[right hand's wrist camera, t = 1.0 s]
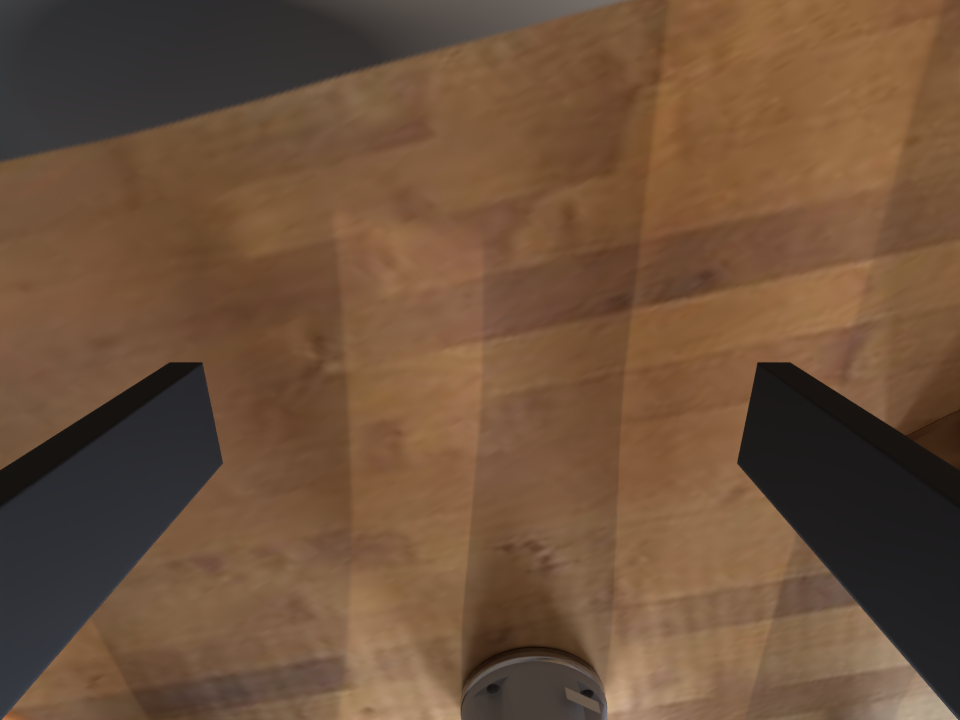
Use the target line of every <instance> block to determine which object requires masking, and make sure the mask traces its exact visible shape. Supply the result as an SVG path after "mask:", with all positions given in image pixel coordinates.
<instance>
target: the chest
mask: <svg viewBox="0 0 960 720" xmlns="http://www.w3.org/2000/svg"><path fill="white" fill-rule="evenodd" d="M907 437H908V438H910V439H911V440H913V441H914V442H916V443H918V444H919V445H921V446H922V447H924V448H925V449H927V450H929V451H930V452H932V453H933V454H935V455H936V456H938V457H940V458H941V459H943V460H944V461H946V462H947V463H949V464H951V465H952V466H954V467H955V468H957V469H958V470H960V410H958V411H956V412H954V413H952V414H950V415H948V416H946V417H944V418H942V419H940V420H938V421H936V422H934V423H932V424H930V425H928V426H926V427H924V428H922V429H920V430H918V431H916V432H914V433H912V434H910V435H908V436H907Z"/></svg>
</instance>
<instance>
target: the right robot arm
mask: <svg viewBox="0 0 960 720" xmlns="http://www.w3.org/2000/svg"><path fill="white" fill-rule="evenodd" d="M222 464H223V462H222V457H221V452H220V447H219V442H218V437H217V432H216V427H215V422H214V417H213V412H212V408H211V403H210V398H209V393H208V388H207V383H206V378H205V373H204V368H203V363H202V362H170V363H168V364H167V365H165V366H164V367H162V368H160V369H159V370H157V371H156V372H154V373H153V374H151V375H149V376H148V377H146V378H145V379H143V380H142V381H140V382H138V383H137V384H135V385H134V386H132V387H131V388H129V389H127V390H126V391H124V392H123V393H121V394H120V395H118V396H116V397H115V398H113V399H112V400H110V401H109V402H107V403H105V404H104V405H102V406H101V407H99V408H98V409H96V410H94V411H93V412H91V413H90V414H88V415H87V416H85V417H83V418H82V419H80V420H79V421H77V422H76V423H74V424H72V425H71V426H69V427H68V428H66V429H65V430H63V431H61V432H60V433H58V434H57V435H55V436H53V437H52V438H50V439H49V440H47V441H46V442H44V443H42V444H41V445H39V446H38V447H36V448H35V449H33V450H31V451H30V452H28V453H27V454H25V455H24V456H22V457H20V458H19V459H17V460H16V461H14V462H13V463H11V464H9V465H8V466H6V467H5V468H3V469H2V470H0V720H2V719H3V718H4V717H5V715H6V714H7V713H8V712H9V711H10V710H11V708H12V707H13V706H14V705H15V704H16V703H17V701H18V700H19V699H20V698H21V697H22V696H23V694H24V693H25V692H26V691H27V690H28V689H29V688H30V686H31V685H32V684H33V683H34V682H35V681H36V679H37V678H38V677H39V676H40V675H41V674H42V672H43V671H44V670H45V669H46V668H47V667H48V666H49V664H50V663H51V662H52V661H53V660H54V659H55V657H56V656H57V655H58V654H59V653H60V652H61V650H62V649H63V648H64V647H65V646H66V645H67V643H68V642H69V641H70V640H71V639H72V638H73V637H74V635H75V634H76V633H77V632H78V631H79V630H80V628H81V627H82V626H83V625H84V624H85V623H86V621H87V620H88V619H89V618H90V617H91V616H92V614H93V613H94V612H95V611H96V610H97V609H98V608H99V606H100V605H101V604H102V603H103V602H104V601H105V599H106V598H107V597H108V596H109V595H110V594H111V592H112V591H113V590H114V589H115V588H116V587H117V586H118V584H119V583H120V582H121V581H122V580H123V579H124V577H125V576H126V575H127V574H128V573H129V572H130V570H131V569H132V568H133V567H134V566H135V565H136V563H137V562H138V561H139V560H140V559H141V558H142V557H143V555H144V554H145V553H146V552H147V551H148V550H149V548H150V547H151V546H152V545H153V544H154V543H155V541H156V540H157V539H158V538H159V537H160V536H161V534H162V533H163V532H164V531H165V530H166V529H167V528H168V526H169V525H170V524H171V523H172V522H173V521H174V519H175V518H176V517H177V516H178V515H179V514H180V512H181V511H182V510H183V509H184V508H185V507H186V506H187V504H188V503H189V502H190V501H191V500H192V499H193V497H194V496H195V495H196V494H197V493H198V492H199V490H200V489H201V488H202V487H203V486H204V485H205V483H206V482H207V481H208V480H209V479H210V478H211V477H212V475H213V474H214V473H215V472H216V471H217V470H218V468H219V467H220V466H221V465H222ZM737 464H738V465H739V466H740V467H741V468H742V470H743V471H744V472H745V473H746V474H747V475H748V477H749V478H750V479H751V480H752V481H753V482H754V483H755V485H756V486H757V487H758V488H759V489H760V490H761V492H762V493H763V494H764V495H765V496H766V497H767V499H768V500H769V501H770V502H771V503H772V504H773V506H774V507H775V508H776V509H777V510H778V511H779V512H780V514H781V515H782V516H783V517H784V518H785V519H786V521H787V522H788V523H789V524H790V525H791V526H792V528H793V529H794V530H795V531H796V532H797V533H798V534H799V536H800V537H801V538H802V539H803V540H804V541H805V543H806V544H807V545H808V546H809V547H810V548H811V550H812V551H813V552H814V553H815V554H816V555H817V557H818V558H819V559H820V560H821V561H822V562H823V563H824V565H825V566H826V567H827V568H828V569H829V570H830V572H831V573H832V574H833V575H834V576H835V577H836V579H837V580H838V581H839V582H840V583H841V584H842V586H843V587H844V588H845V589H846V590H847V591H848V592H849V594H850V595H851V596H852V597H853V598H854V599H855V601H856V602H857V603H858V604H859V605H860V606H861V608H862V609H863V610H864V611H865V612H866V613H867V614H868V616H869V617H870V618H871V619H872V620H873V621H874V623H875V624H876V625H877V626H878V627H879V628H880V630H881V631H882V632H883V633H884V634H885V635H886V637H887V638H888V639H889V640H890V641H891V642H892V643H893V645H894V646H895V647H896V648H897V649H898V650H899V652H900V653H901V654H902V655H903V656H904V657H905V659H906V660H907V661H908V662H909V663H910V664H911V666H912V667H913V668H914V669H915V670H916V671H917V672H918V674H919V675H920V676H921V677H922V678H923V679H924V681H925V682H926V683H927V684H928V685H929V686H930V688H931V689H932V690H933V691H934V692H935V693H936V694H937V696H938V697H939V698H940V699H941V700H942V701H943V703H944V704H945V705H946V706H947V707H948V708H949V710H950V711H951V712H952V713H953V714H954V715H955V717H956V718H957V719H958V720H960V470H958V469H957V468H955V467H954V466H952V465H951V464H949V463H947V462H946V461H944V460H943V459H941V458H940V457H938V456H936V455H935V454H933V453H932V452H930V451H929V450H927V449H925V448H924V447H922V446H921V445H919V444H918V443H916V442H914V441H913V440H911V439H910V438H908V437H907V436H905V435H903V434H902V433H900V432H899V431H897V430H895V429H894V428H892V427H891V426H889V425H888V424H886V423H884V422H883V421H881V420H880V419H878V418H877V417H875V416H873V415H872V414H870V413H869V412H867V411H866V410H864V409H862V408H861V407H859V406H858V405H856V404H855V403H853V402H851V401H850V400H848V399H847V398H845V397H844V396H842V395H840V394H839V393H837V392H836V391H834V390H833V389H831V388H829V387H828V386H826V385H825V384H823V383H822V382H820V381H818V380H817V379H815V378H814V377H812V376H811V375H809V374H807V373H806V372H804V371H803V370H801V369H800V368H798V367H796V366H795V365H793V364H792V363H790V362H758V363H757V368H756V373H755V378H754V383H753V388H752V393H751V398H750V403H749V408H748V412H747V417H746V422H745V427H744V432H743V437H742V442H741V447H740V452H739V457H738V462H737ZM461 720H607V702H606V698H605V694H604V689H603V686H602V683H601V680H600V678H599V677H598V675H597V674H596V672H595V671H594V670H593V669H592V668H591V667H590V666H589V665H588V664H586V663H585V662H584V661H582V660H581V659H579V658H577V657H575V656H573V655H571V654H568V653H565V652H562V651H558V650H554V649H547V648H523V649H517V650H512V651H508V652H505V653H502V654H499V655H497V656H495V657H492V658H491V659H489V660H487V661H485V662H484V663H482V664H481V665H480V666H479V667H477V668H476V669H475V670H474V671H473V672H472V674H471V675H470V676H469V677H468V679H467V681H466V682H465V685H464V687H463V690H462V696H461Z"/></svg>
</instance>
